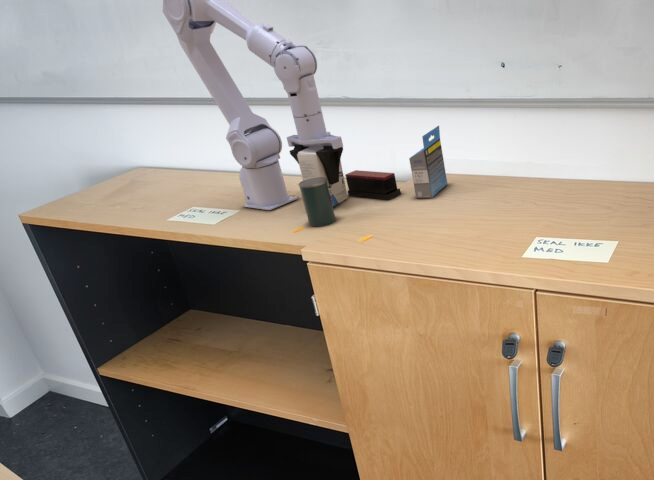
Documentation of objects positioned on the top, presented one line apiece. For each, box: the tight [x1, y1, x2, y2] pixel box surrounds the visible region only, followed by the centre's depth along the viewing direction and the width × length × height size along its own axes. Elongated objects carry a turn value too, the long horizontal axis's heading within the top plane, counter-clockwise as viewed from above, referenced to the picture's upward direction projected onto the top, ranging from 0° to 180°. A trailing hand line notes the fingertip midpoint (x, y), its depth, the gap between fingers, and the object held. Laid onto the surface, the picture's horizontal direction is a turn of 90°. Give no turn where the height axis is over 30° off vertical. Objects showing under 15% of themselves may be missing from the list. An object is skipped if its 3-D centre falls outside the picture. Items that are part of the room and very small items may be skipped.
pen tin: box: [298, 177, 337, 228], centre depth 132 cm, size 5×5×8 cm
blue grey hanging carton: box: [408, 125, 448, 199], centre depth 139 cm, size 9×4×12 cm, turn 160°
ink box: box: [297, 147, 349, 208], centre depth 141 cm, size 9×5×12 cm, turn 158°
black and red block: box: [344, 169, 402, 201], centre depth 144 cm, size 12×4×5 cm, turn 53°
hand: (324, 182), depth 141 cm, fingers closed on ink box, 6 cm apart
